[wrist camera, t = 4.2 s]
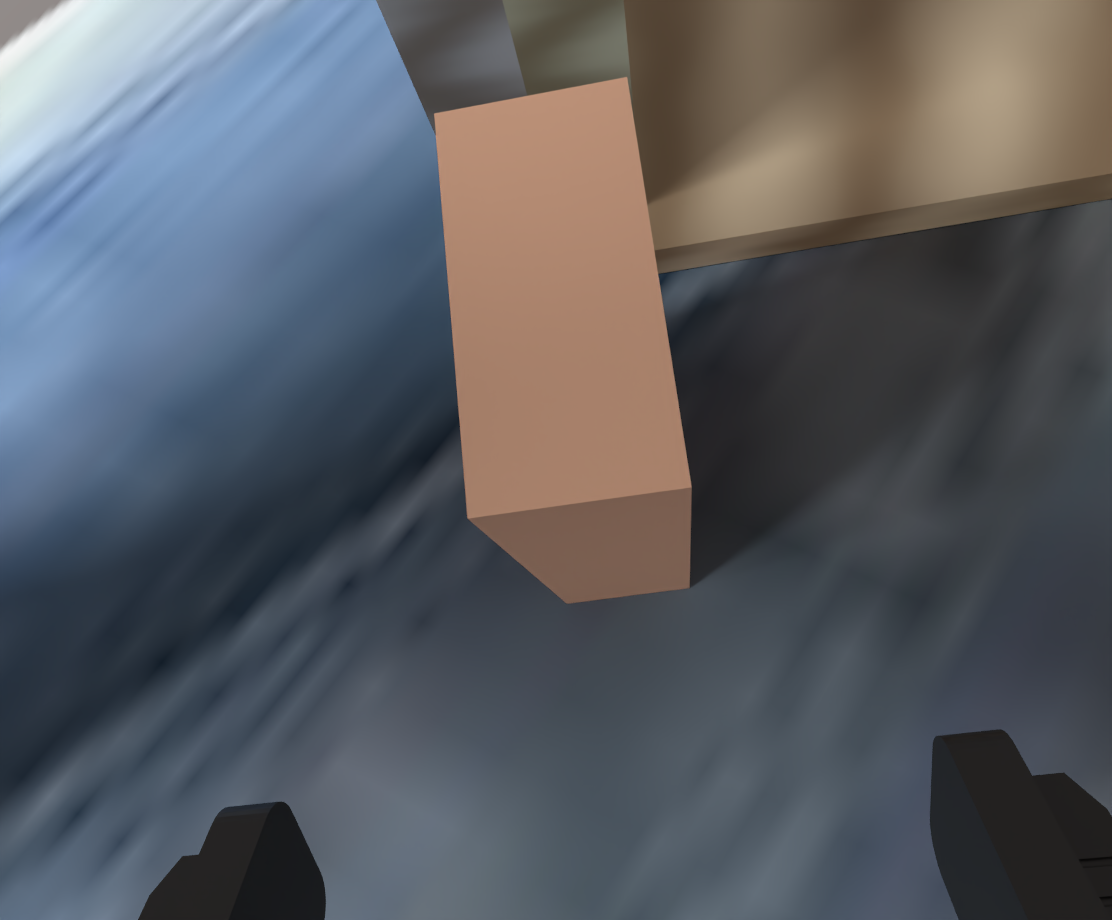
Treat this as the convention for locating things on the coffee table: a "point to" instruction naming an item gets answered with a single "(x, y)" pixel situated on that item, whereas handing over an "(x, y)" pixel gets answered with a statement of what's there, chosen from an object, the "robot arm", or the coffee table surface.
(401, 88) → the coffee table surface
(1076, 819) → the robot arm
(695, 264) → the shelf
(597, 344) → the salmon orange rectangular block
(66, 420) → the coffee table surface
